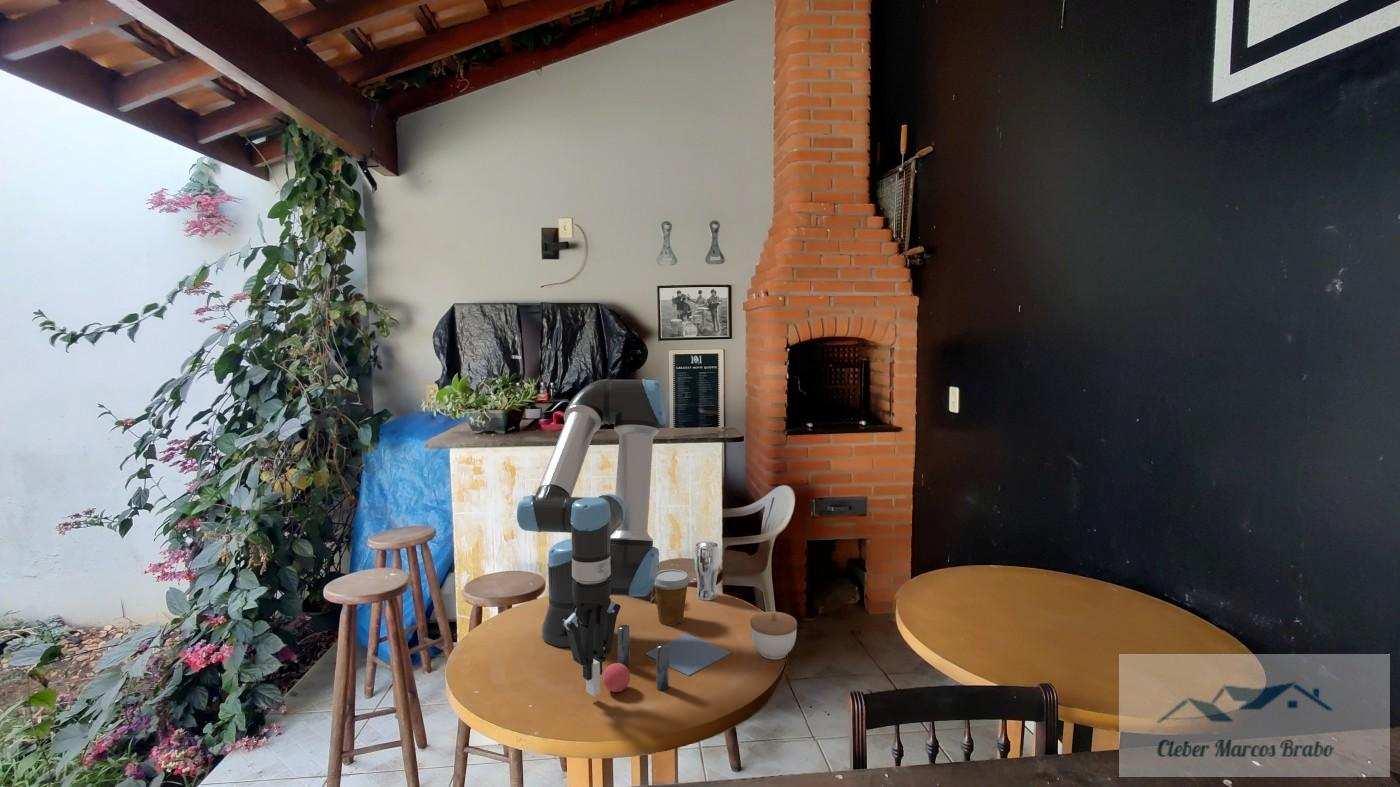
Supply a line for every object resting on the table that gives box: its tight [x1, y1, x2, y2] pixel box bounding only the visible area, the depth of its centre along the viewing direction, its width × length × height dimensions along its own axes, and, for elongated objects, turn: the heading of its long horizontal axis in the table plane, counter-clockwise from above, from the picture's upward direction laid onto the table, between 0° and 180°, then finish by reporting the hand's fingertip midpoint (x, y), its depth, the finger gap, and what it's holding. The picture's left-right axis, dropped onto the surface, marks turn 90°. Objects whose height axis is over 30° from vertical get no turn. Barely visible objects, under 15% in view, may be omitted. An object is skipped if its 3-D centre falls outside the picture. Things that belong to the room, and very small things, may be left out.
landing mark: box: [645, 633, 732, 677], centre depth 147 cm, size 14×14×1 cm
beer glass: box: [694, 540, 720, 601], centre depth 180 cm, size 7×7×15 cm
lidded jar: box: [749, 611, 798, 660], centre depth 147 cm, size 11×11×9 cm
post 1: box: [617, 624, 630, 669], centre depth 140 cm, size 3×3×9 cm
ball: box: [602, 662, 631, 693], centre depth 131 cm, size 6×6×6 cm
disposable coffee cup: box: [654, 568, 690, 626], centre depth 164 cm, size 10×10×12 cm
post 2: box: [655, 642, 670, 692], centre depth 132 cm, size 3×3×9 cm
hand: (592, 692), depth 127 cm, fingers closed
